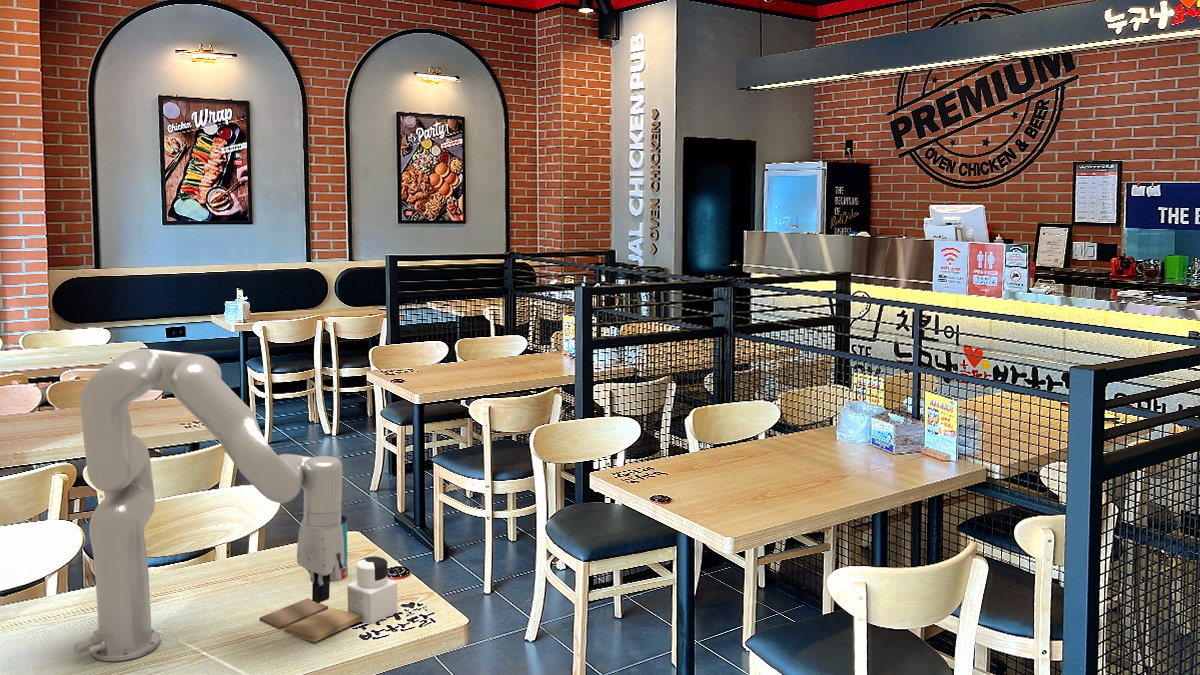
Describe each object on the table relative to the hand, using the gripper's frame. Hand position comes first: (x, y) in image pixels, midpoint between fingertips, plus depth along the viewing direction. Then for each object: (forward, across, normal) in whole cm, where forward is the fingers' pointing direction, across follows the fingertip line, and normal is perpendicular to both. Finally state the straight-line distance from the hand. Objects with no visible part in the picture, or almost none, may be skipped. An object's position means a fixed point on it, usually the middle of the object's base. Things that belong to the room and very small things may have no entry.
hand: (320, 600), depth 203 cm
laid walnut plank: (+7, -4, +1) cm, 8 cm away
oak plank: (+6, 0, +1) cm, 6 cm away
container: (+7, +3, +12) cm, 14 cm away
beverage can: (+7, -19, +20) cm, 29 cm away
